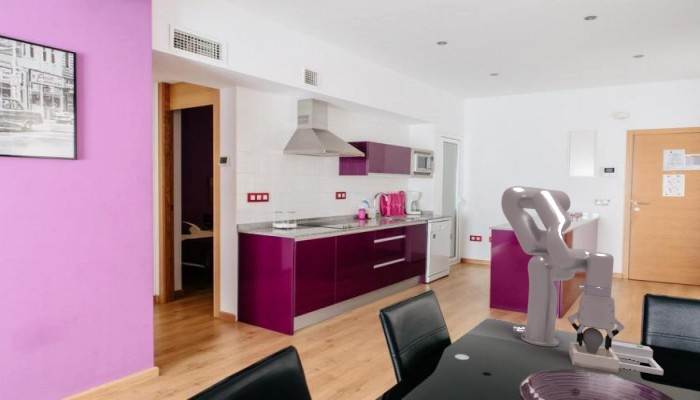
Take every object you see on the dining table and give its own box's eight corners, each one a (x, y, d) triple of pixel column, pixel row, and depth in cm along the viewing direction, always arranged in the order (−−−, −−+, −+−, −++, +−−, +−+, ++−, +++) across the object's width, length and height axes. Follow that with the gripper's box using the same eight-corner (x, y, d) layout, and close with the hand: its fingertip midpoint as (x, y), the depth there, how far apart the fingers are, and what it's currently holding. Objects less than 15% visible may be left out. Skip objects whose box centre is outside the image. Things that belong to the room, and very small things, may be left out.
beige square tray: (573, 365, 143) (573, 352, 143) (568, 353, 155) (569, 341, 155) (618, 373, 139) (619, 360, 139) (610, 360, 150) (611, 348, 150)
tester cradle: (616, 367, 144) (617, 352, 144) (606, 351, 160) (607, 338, 160) (663, 375, 140) (664, 360, 140) (648, 358, 156) (649, 344, 156)
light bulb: (605, 363, 143) (606, 331, 143) (584, 361, 145) (585, 329, 145) (598, 357, 149) (600, 326, 149) (578, 355, 150) (580, 324, 151)
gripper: (568, 289, 146) (564, 345, 146) (631, 297, 140) (627, 355, 140) (566, 285, 153) (562, 339, 153) (626, 293, 147) (622, 348, 147)
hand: (593, 346), depth 147 cm, fingers open, 7 cm apart
